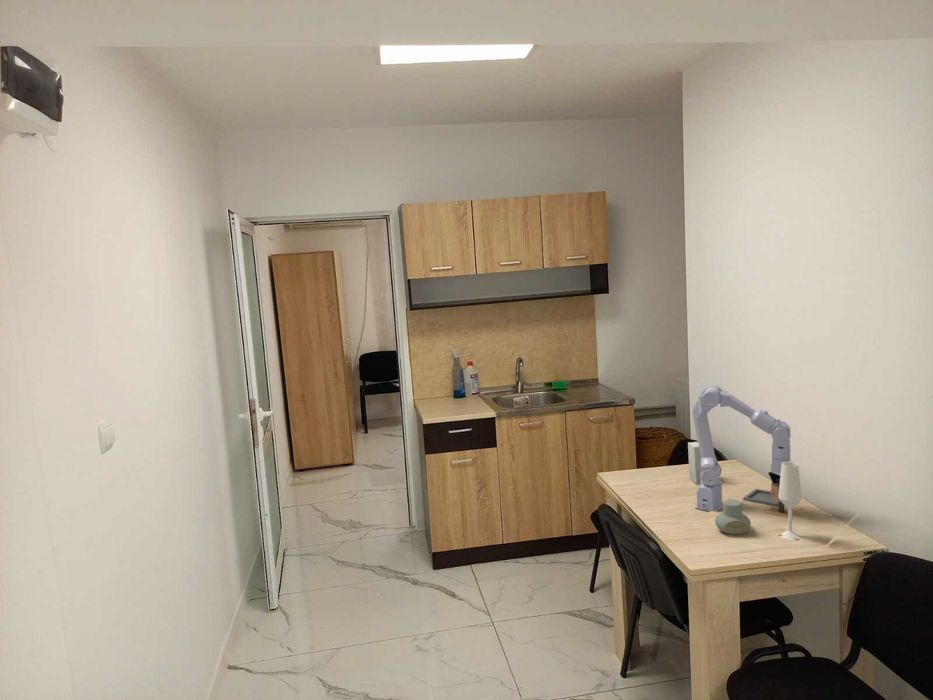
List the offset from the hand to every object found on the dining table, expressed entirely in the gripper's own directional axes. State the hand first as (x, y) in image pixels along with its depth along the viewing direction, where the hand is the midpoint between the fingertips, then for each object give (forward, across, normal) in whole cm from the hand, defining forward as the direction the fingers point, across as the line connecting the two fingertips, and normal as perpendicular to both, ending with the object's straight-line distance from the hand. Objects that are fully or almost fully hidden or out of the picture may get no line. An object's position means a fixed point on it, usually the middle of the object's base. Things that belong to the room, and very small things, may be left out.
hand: (781, 495), depth 231 cm
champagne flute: (+7, -20, +5) cm, 21 cm away
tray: (+6, +13, 0) cm, 15 cm away
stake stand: (+6, 0, 0) cm, 7 cm away
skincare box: (+7, +37, +18) cm, 42 cm away
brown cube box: (+1, 0, 0) cm, 1 cm away
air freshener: (+7, -14, +21) cm, 26 cm away
